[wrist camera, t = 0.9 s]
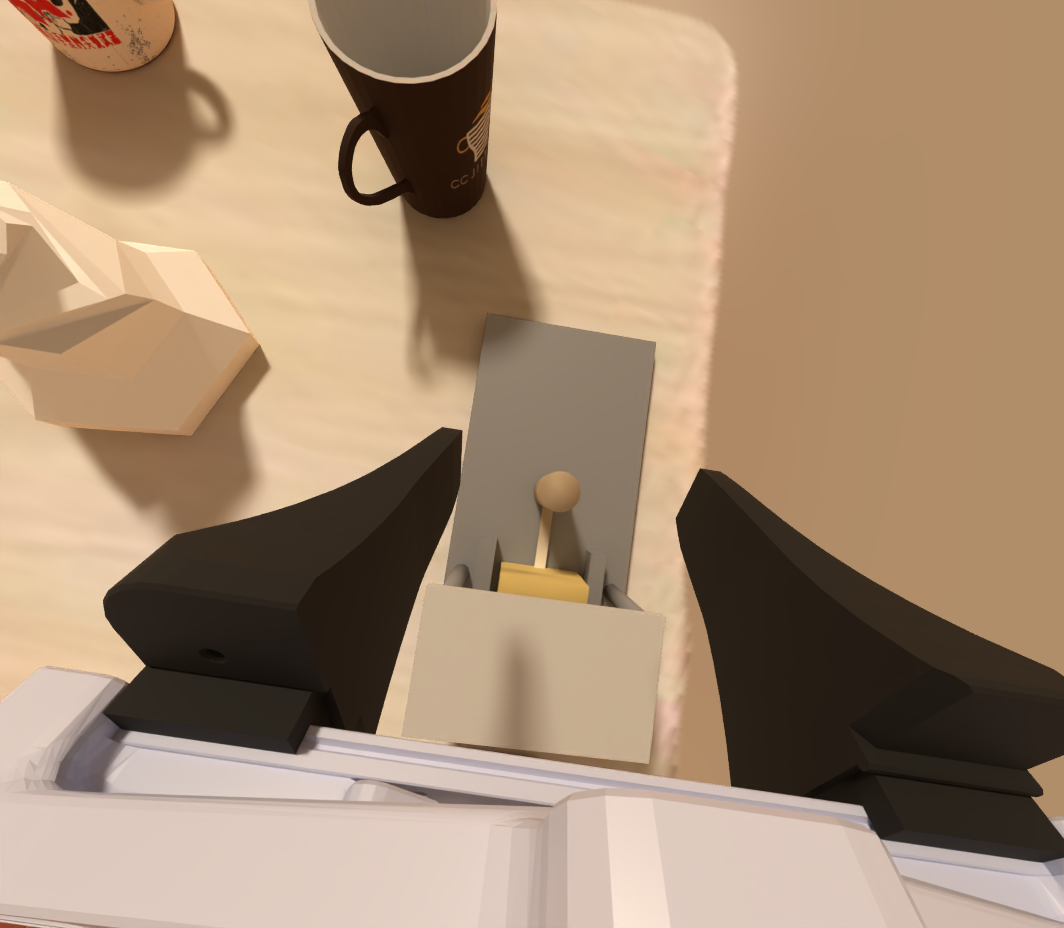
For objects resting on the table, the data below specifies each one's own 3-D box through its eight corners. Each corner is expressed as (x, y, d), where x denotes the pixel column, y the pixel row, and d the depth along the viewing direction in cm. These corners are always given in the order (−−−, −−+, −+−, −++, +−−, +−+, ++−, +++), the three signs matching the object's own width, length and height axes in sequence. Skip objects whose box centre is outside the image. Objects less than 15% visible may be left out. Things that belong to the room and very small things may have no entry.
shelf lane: (608, 686, 26) (648, 764, 18) (432, 664, 25) (401, 736, 18) (650, 347, 27) (702, 296, 20) (488, 320, 27) (480, 256, 20)
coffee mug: (453, 100, 28) (423, -116, 18) (524, 191, 28) (533, 23, 18) (322, 185, 27) (212, 3, 17) (395, 279, 27) (327, 152, 17)
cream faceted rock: (192, 220, 28) (-3, -50, 14) (296, 401, 28) (203, 303, 15) (-34, 269, 23) (-612, -53, 10) (96, 480, 24) (-280, 441, 11)
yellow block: (563, 664, 24) (578, 710, 19) (487, 655, 24) (481, 699, 19) (588, 480, 25) (608, 478, 20) (515, 469, 25) (517, 464, 20)
